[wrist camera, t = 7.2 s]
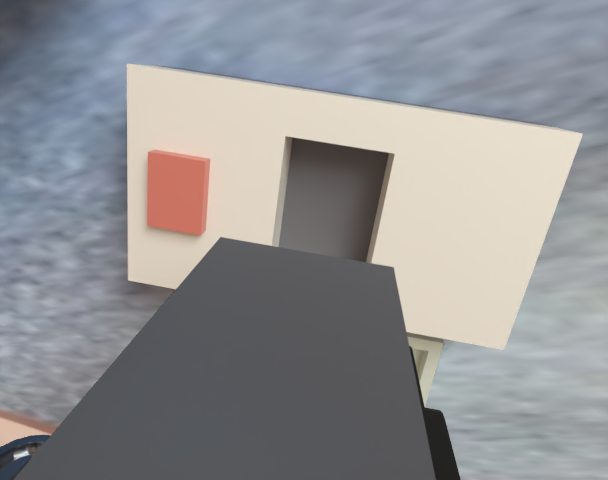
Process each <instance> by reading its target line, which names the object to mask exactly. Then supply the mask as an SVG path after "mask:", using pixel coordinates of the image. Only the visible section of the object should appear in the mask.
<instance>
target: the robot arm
mask: <svg viewBox="0 0 608 480" xmlns="http://www.w3.org/2000/svg"><path fill="white" fill-rule="evenodd" d="M409 347H410V352H411V357H412V362H413V368H414V373H415V378H416V383H417V388H418V393H419V398H420V403H421V408H422V413H423V418H424V423H425V428H426V433H427V438H428V443H429V448H430V453H431V458H432V463H433V468H434V473H435V478H436V480H460V476H459V472H458V468H457V465H456V461H455V457H454V453H453V449H452V445H451V441H450V438H449V434H448V430H447V426H446V422H445V418H444V416H443V413H442V412H441V411H440V410H435V409H429V408H425V407H424V402H423V397H422V392H421V387H420V383H419V378H418V373H417V368H416V363H415V359H414V354H413V349H412V347H411V346H409ZM49 437H50V435H35V436H28V437H24V438H21V439H17V440H14V441H12V442H10V443H8V444H6V445H4V446H1V447H0V480H13V479H14V478H15V477H16V476H17V475H18V473H19V472H20V471H21V470H22V469H23V468H24V466H25V465H26V464H27V463H28V462H29V461H30V459H31V458H32V457H33V456H34V455H35V454H36V452H37V451H38V450H39V449H40V448H41V447H42V445H43V444H44V443H45V442H46V441H47V440H48V438H49Z"/></svg>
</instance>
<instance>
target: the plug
mask: <svg viewBox="0 0 608 480" xmlns="http://www.w3.org/2000/svg"><path fill="white" fill-rule="evenodd" d="M13 480H436V478H435V473H434V468H433V463H432V458H431V453H430V448H429V443H428V438H427V433H426V428H425V423H424V418H423V413H422V408H421V403H420V398H419V393H418V388H417V383H416V378H415V373H414V368H413V362H412V357H411V352H410V347H409V342H408V337H407V332H406V327H405V322H404V317H403V312H402V307H401V302H400V297H399V292H398V287H397V282H396V277H395V272H394V267H390V266H384V265H379V264H373V263H367V262H361V261H356V260H350V259H344V258H338V257H333V256H327V255H321V254H315V253H310V252H304V251H298V250H292V249H287V248H281V247H275V246H269V245H264V244H258V243H252V242H247V241H241V240H235V239H229V238H224V237H220V238H219V239H218V241H217V242H216V243H215V244H214V245H213V246H212V248H211V249H210V250H209V251H208V252H207V253H206V255H205V256H204V257H203V258H202V259H201V261H200V262H199V263H198V264H197V265H196V266H195V268H194V269H193V270H192V271H191V272H190V273H189V275H188V276H187V277H186V278H185V279H184V280H183V282H182V283H181V284H180V285H179V286H178V287H177V289H176V290H175V291H174V292H173V293H172V294H171V296H170V297H169V298H168V299H167V300H166V301H165V303H164V304H163V305H162V306H161V307H160V308H159V310H158V311H157V312H156V313H155V314H154V316H153V317H152V318H151V319H150V320H149V321H148V323H147V324H146V325H145V326H144V327H143V328H142V330H141V331H140V332H139V333H138V334H137V335H136V337H135V338H134V339H133V340H132V341H131V342H130V344H129V345H128V346H127V347H126V348H125V349H124V351H123V352H122V353H121V354H120V355H119V356H118V358H117V359H116V360H115V361H114V362H113V363H112V365H111V366H110V367H109V368H108V369H107V371H106V372H105V373H104V374H103V375H102V376H101V378H100V379H99V380H98V381H97V382H96V383H95V385H94V386H93V387H92V388H91V389H90V390H89V392H88V393H87V394H86V395H85V396H84V397H83V399H82V400H81V401H80V402H79V403H78V404H77V406H76V407H75V408H74V409H73V410H72V411H71V413H70V414H69V415H68V416H67V417H66V418H65V420H64V421H63V422H62V423H61V424H60V426H59V427H58V428H57V429H56V430H55V431H54V433H53V434H52V435H51V436H50V437H49V438H48V440H47V441H46V442H45V443H44V444H43V445H42V447H41V448H40V449H39V450H38V451H37V452H36V454H35V455H34V456H33V457H32V458H31V459H30V461H29V462H28V463H27V464H26V465H25V466H24V468H23V469H22V470H21V471H20V472H19V473H18V475H17V476H16V477H15V478H14V479H13Z"/></svg>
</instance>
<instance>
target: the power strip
mask: <svg viewBox="0 0 608 480" xmlns="http://www.w3.org/2000/svg"><path fill="white" fill-rule="evenodd" d="M582 135H583V134H581V133H577V132H573V131H568V130H564V129H560V128H556V127H552V126H547V125H543V124H538V123H532V122H525V121H519V120H512V119H506V118H499V117H493V116H486V115H480V114H473V113H467V112H460V111H454V110H447V109H441V108H434V107H428V106H421V105H414V104H408V103H401V102H395V101H388V100H382V99H375V98H369V97H362V96H356V95H349V94H343V93H336V92H330V91H323V90H317V89H310V88H304V87H297V86H291V85H284V84H278V83H271V82H265V81H258V80H252V79H245V78H239V77H232V76H226V75H219V74H213V73H206V72H200V71H193V70H187V69H180V68H174V67H166V66H153V65H139V64H127V179H128V280H129V281H134V282H139V283H145V284H150V285H156V286H161V287H166V288H172V289H177V287H178V286H179V285H180V284H181V283H182V282H183V280H184V279H185V278H186V277H187V276H188V275H189V273H190V272H191V271H192V270H193V269H194V268H195V266H196V265H197V264H198V263H199V262H200V261H201V259H202V258H203V257H204V256H205V255H206V253H207V252H208V251H209V250H210V249H211V248H212V246H213V245H214V244H215V243H216V242H217V241H218V239H219V238H220V237H224V238H229V239H235V240H241V241H247V242H252V243H258V244H264V245H269V246H275V247H281V248H287V249H292V250H298V251H304V252H310V253H315V254H321V255H327V256H333V257H338V258H344V259H350V260H356V261H361V262H367V263H373V264H379V265H384V266H390V267H394V272H395V277H396V282H397V287H398V292H399V297H400V302H401V307H402V312H403V317H404V322H405V327H406V332H409V333H415V334H420V335H425V336H431V337H436V338H442V339H447V340H452V341H458V342H463V343H469V344H474V345H479V346H485V347H490V348H496V349H501V350H504V348H505V346H506V343H507V340H508V338H509V335H510V332H511V329H512V327H513V324H514V321H515V318H516V316H517V313H518V310H519V307H520V305H521V302H522V299H523V296H524V294H525V291H526V288H527V286H528V283H529V280H530V277H531V275H532V272H533V269H534V266H535V264H536V261H537V258H538V255H539V253H540V250H541V247H542V244H543V242H544V239H545V236H546V233H547V231H548V228H549V225H550V223H551V220H552V217H553V214H554V212H555V209H556V206H557V203H558V201H559V198H560V195H561V192H562V190H563V187H564V184H565V181H566V179H567V176H568V173H569V171H570V168H571V165H572V162H573V160H574V157H575V154H576V151H577V149H578V146H579V143H580V140H581V138H582Z"/></svg>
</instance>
